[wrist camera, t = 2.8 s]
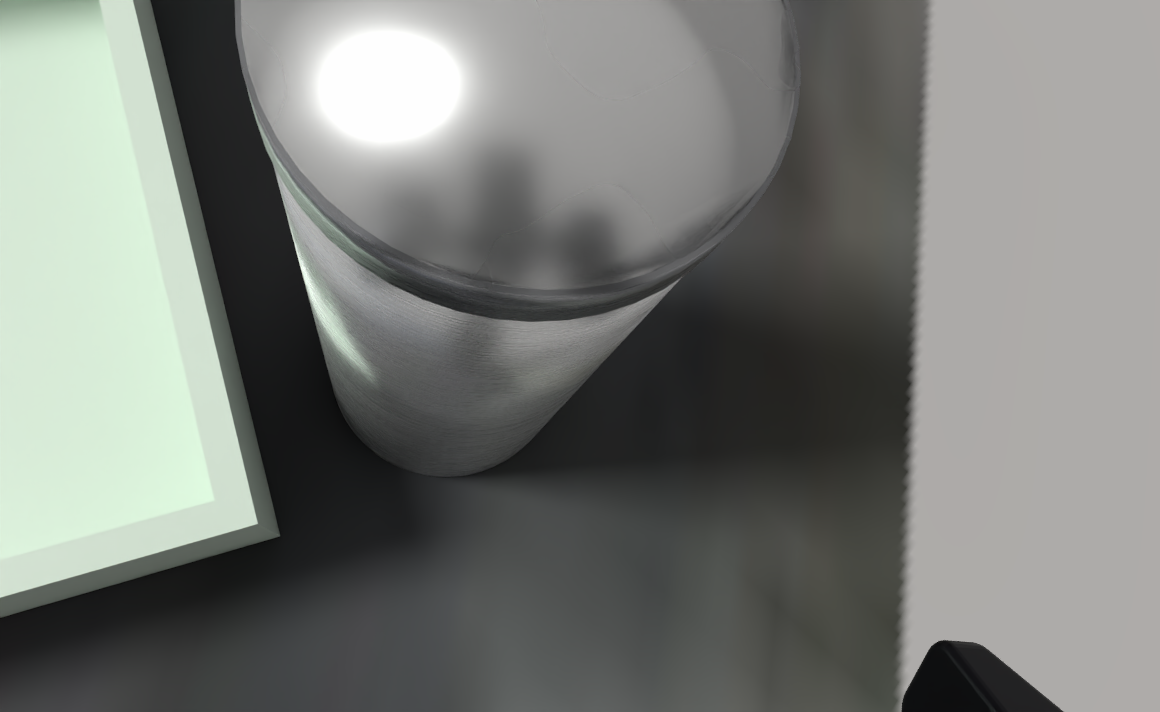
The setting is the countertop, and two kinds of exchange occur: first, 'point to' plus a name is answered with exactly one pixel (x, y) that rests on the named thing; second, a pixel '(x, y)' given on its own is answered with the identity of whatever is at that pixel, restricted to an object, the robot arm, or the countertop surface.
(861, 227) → the countertop surface
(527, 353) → the steel canister
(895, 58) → the countertop surface
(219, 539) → the tray
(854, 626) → the countertop surface
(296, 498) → the countertop surface
